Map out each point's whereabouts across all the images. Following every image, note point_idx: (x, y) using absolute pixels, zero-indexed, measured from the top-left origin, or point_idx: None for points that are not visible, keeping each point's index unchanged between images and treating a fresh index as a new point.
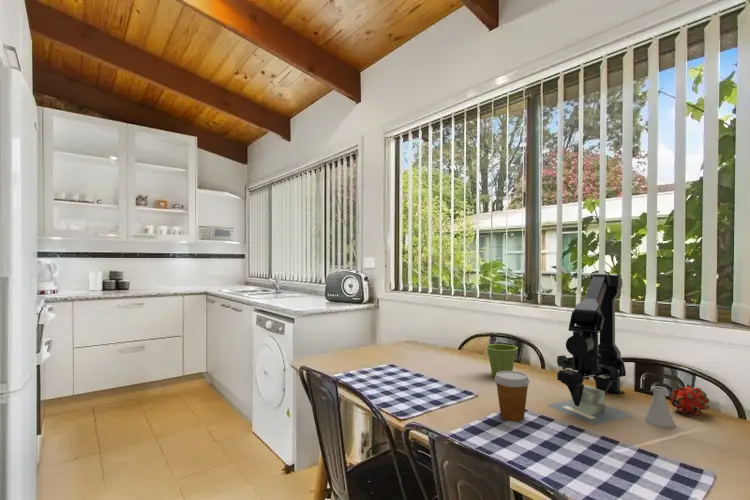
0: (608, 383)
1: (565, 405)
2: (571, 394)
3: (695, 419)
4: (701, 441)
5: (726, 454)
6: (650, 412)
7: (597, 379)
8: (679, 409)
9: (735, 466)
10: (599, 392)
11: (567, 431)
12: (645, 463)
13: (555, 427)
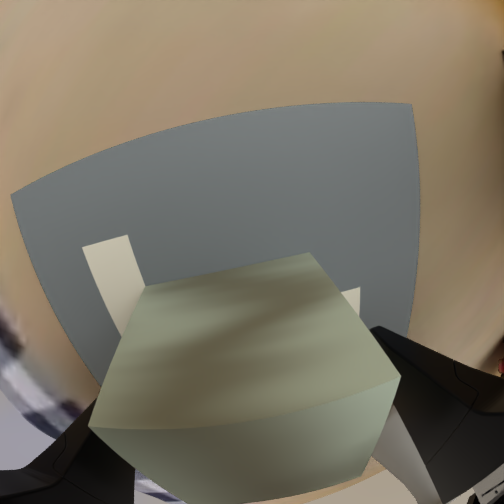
0: (435, 485)
1: (120, 224)
2: (70, 432)
3: (485, 372)
4: (367, 464)
5: (344, 484)
6: (389, 454)
7: (486, 446)
8: (499, 367)
9: (310, 499)
10: (301, 491)
11: (55, 420)
12: (172, 499)
13: (25, 393)
